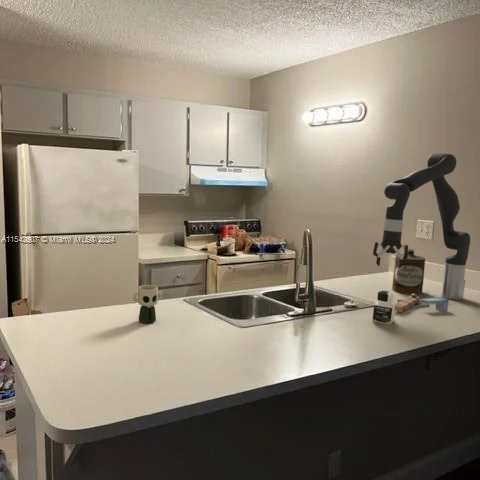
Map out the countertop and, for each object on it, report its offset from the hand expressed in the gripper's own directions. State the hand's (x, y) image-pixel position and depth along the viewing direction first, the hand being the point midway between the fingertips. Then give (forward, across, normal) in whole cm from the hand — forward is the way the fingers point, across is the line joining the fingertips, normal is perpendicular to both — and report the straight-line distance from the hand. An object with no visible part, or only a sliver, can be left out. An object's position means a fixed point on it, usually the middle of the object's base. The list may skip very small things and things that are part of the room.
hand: (388, 266), depth 204 cm
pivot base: (+19, +14, +14) cm, 27 cm away
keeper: (+19, +22, +6) cm, 29 cm away
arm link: (+17, +10, +5) cm, 21 cm away
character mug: (+21, -88, -53) cm, 105 cm away
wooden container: (+18, +15, +41) cm, 48 cm away
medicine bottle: (+19, -2, -19) cm, 27 cm away
